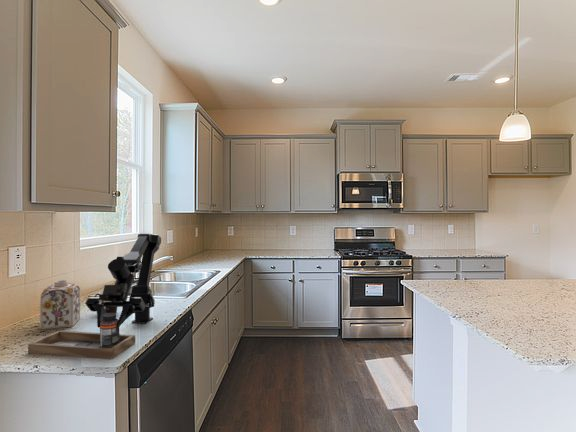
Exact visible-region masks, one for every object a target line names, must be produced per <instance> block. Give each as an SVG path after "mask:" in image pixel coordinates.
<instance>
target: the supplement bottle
mask: <svg viewBox="0 0 576 432" xmlns="http://www.w3.org/2000/svg"><path fill="white" fill-rule="evenodd" d="M118 320H119V318H117V313H106V314H104V315H103V321H101V323H100V327H99V333H100V347H102V348H112V347H114V346H115V345H117V344H118V343H119V334H120V327H117V322H118Z"/></svg>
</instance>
